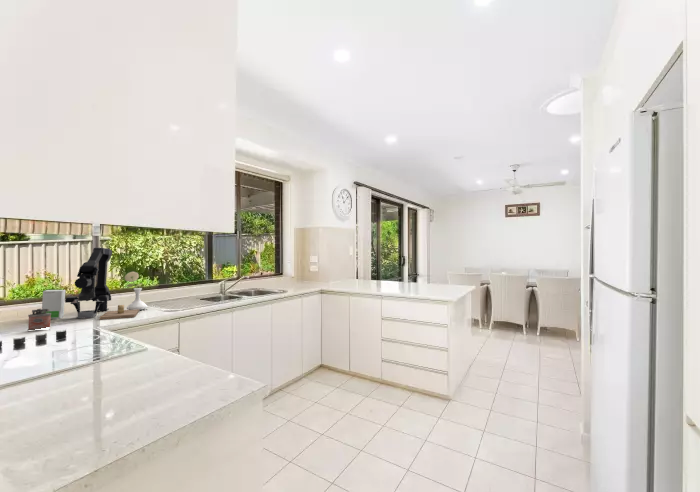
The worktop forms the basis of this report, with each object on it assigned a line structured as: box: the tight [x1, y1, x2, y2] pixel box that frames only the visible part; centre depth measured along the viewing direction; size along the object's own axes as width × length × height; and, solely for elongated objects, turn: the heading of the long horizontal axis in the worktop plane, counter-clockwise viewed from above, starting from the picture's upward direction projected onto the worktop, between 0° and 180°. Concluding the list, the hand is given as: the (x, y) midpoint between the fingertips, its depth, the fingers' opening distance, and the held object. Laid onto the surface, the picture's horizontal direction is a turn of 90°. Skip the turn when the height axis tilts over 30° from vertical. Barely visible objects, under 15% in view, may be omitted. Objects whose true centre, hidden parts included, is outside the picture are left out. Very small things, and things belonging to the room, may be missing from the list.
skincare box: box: [41, 289, 66, 320], centre depth 177 cm, size 8×7×16 cm
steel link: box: [76, 309, 98, 319], centre depth 180 cm, size 7×7×3 cm
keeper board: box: [98, 304, 140, 321], centre depth 186 cm, size 20×16×6 cm
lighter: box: [27, 308, 52, 331], centre depth 149 cm, size 8×3×10 cm, turn 114°
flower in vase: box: [124, 271, 148, 311], centre depth 205 cm, size 13×11×25 cm
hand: (87, 314), depth 180 cm, fingers closed on steel link, 7 cm apart
